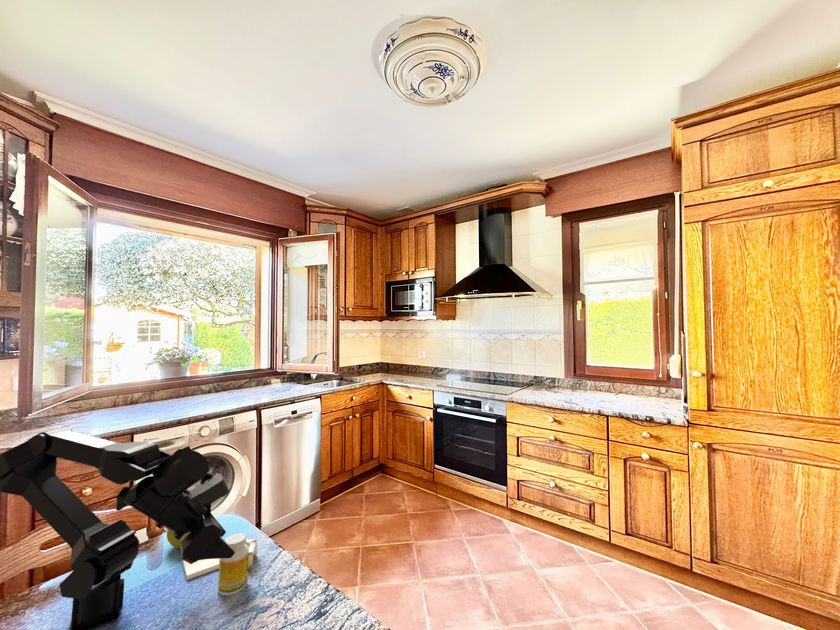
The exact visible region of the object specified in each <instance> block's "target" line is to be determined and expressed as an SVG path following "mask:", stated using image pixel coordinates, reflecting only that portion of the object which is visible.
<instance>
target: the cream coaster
mask: <svg viewBox="0 0 840 630" xmlns="http://www.w3.org/2000/svg"><path fill="white" fill-rule="evenodd" d="M219 559H220V558H219ZM219 559H204V560H198V561H197V562H194V563H192V564H189V563H188V562H186V561H184V560H183V559H182V565H183V571H184V575H185V579H186V581H189V580H191V579H194V578H197V577H199V576H202V575H206V574H208V573H210V572H213V571H216V570H219Z"/></svg>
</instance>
